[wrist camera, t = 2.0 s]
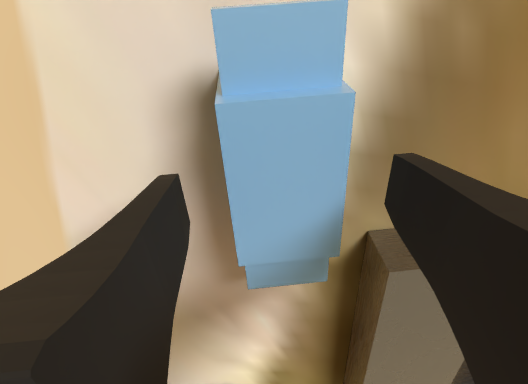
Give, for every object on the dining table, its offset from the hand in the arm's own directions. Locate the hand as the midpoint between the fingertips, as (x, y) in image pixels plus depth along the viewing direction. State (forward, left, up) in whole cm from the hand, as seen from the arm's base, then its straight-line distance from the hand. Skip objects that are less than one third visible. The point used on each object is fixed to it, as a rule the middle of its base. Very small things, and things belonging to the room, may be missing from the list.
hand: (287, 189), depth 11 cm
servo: (0, 0, -4) cm, 4 cm away
